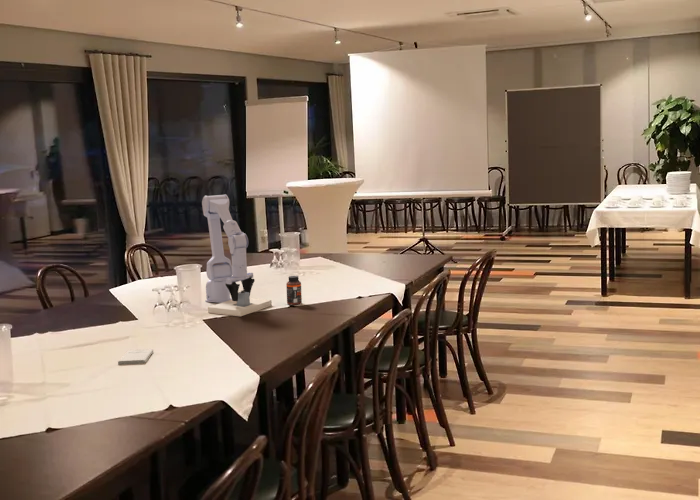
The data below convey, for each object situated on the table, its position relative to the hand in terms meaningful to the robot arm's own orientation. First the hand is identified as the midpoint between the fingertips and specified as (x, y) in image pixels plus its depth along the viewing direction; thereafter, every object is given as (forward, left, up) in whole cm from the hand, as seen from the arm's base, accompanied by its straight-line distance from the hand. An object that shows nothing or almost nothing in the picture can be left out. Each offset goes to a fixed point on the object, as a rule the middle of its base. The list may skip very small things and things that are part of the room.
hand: (241, 298), depth 304 cm
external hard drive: (+11, -67, -5) cm, 68 cm away
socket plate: (-1, +1, -4) cm, 5 cm away
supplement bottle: (+14, +17, -5) cm, 22 cm away
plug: (+1, 0, -4) cm, 5 cm away
